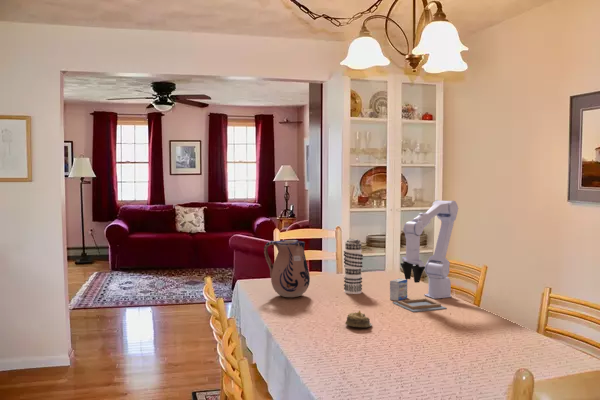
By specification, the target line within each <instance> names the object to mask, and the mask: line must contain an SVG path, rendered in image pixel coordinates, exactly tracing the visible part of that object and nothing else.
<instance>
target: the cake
mask: <svg viewBox="0 0 600 400" xmlns="http://www.w3.org/2000/svg"><path fill="white" fill-rule="evenodd" d="M370 319H371V318H369V317H367V315H366V314H365V313H363V312H361V310H358V312H349V313H348V315H347V317H346V321H345V322H344V324H345V325H347V326H349V327H354V328H369V327H372V326H373V323H371V322H370V321H371V320H370Z"/></svg>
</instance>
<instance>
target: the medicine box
mask: <svg viewBox="0 0 600 400" xmlns="http://www.w3.org/2000/svg"><path fill="white" fill-rule="evenodd" d="M407 299H408V279H405V278H397V279H393V280H389V300H391V301H393V302H398V301H402V300H407Z"/></svg>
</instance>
